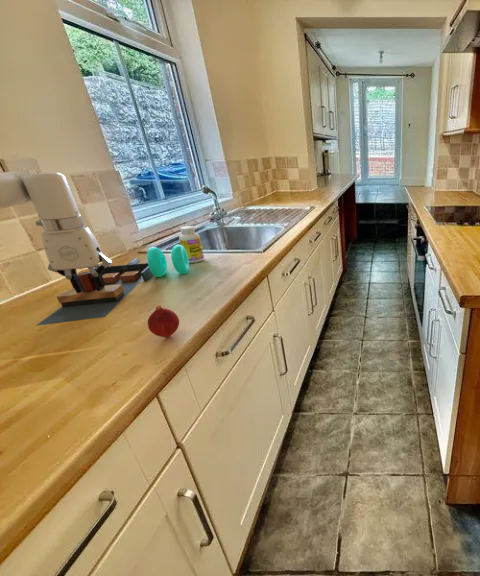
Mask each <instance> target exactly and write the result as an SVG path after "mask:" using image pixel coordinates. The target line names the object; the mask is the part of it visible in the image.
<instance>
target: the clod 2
mask: <svg viewBox="0 0 480 576" xmlns="http://www.w3.org/2000/svg"><path fill="white" fill-rule="evenodd" d="M140 277H141V275H140V272H139V271H132V272H125V273H123V274H122V275H121V276H120V279H121V282H128V281H136V280H137V279H139V278H140Z"/></svg>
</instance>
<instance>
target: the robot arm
mask: <svg viewBox="0 0 480 576" xmlns="http://www.w3.org/2000/svg"><path fill="white" fill-rule="evenodd" d="M28 204H32V205H33V207H34V209H35V211H36V214H37V217H38V220H35V225H36V227H41V228H42V229H43V231H41V232H40V233H41V241H42V245H43V249H44V252H45V255H46V258H47V260H48V266H47V270H48V271H49V272H54V273H58V274H59V275H61V276H63V277H65V279H67V280H69V282H70V283H71V286H72V289H75V290H76V292H77V293H80V292H81V291H83V289H82V286H81V284H80V282H79V279H78V277H77V274H78V272H77V269H88V270H89V271H90V272H91V273H92V275H93V277H92V281H93V283H94V286H95V288H96V290H97V291H100V290H101V289H102V288H104V287H105V286H104V285H105V282H104V280H103V277H102V275H101V274H102V273H103V271H104V270H105V269H106V268H107V267H108V266H112V264H113V261H112V260H111V259H110V258H108V257H107V256H106V255H105V254H104V252H103V250H102V248H101V246H100V244H99V242H98V240H97V238H96V236H95V235H94V233H93V232H92V230H91V229H90V228H89V226H86V225H85V223H84V220H83V218H82V215H81V213H80V210H79V207H78V204H77V203H76V200H75V196H74V194H73V192H72V190H71V186H70V184H69V182H68V180H67V177H66V176H65V175H64V174H62V173H61V172H57V171H56V172H55V171H45V172H41V171H40V172H25V171H2V172H1V171H0V210H1V209H7V208H11V207H16V206H22V205H28ZM100 263H102V264H101V265H100Z"/></svg>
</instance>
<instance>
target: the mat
mask: <svg viewBox="0 0 480 576" xmlns="http://www.w3.org/2000/svg"><path fill="white" fill-rule="evenodd" d="M140 283H141V282H136V283H126V284H122V286H123V289H124V290H123V292H124V296H123V297H122V298H121V299H120V300H118V301H117V302H109V303H99V304H90V305H80V306H71V307H62V306H60V307H59V308H57V309H56V310H55V311H53V312H52V313H51V314H50V315H48V316H47V317H45V318H44V319H43V320H41V321H40V322H39V323H37V324H36V326H44V325H53V324H59V323H68V322H77V321H83V320H91V319H100V318H105V317H107V316H108V315H109V314H110V313H111V312H112V311H113V310H114V309H115V308H116V307H117V306H118V305H119V304H120V303H121V302H122V301H123V300H124V299H126V297H127V296H128V295H130V293H131V292H132V291H133V290H134V289H135V288H136V287H137V286H138V285H139V284H140ZM118 285H120V284H118ZM108 286H110V285H108Z"/></svg>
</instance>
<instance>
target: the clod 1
mask: <svg viewBox="0 0 480 576" xmlns="http://www.w3.org/2000/svg"><path fill="white" fill-rule="evenodd" d="M102 277H103V280H104V282H105V284H106V283H116V282H117V281H118V280H119V279H120V273H109V274H104V275H103V276H102Z"/></svg>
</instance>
